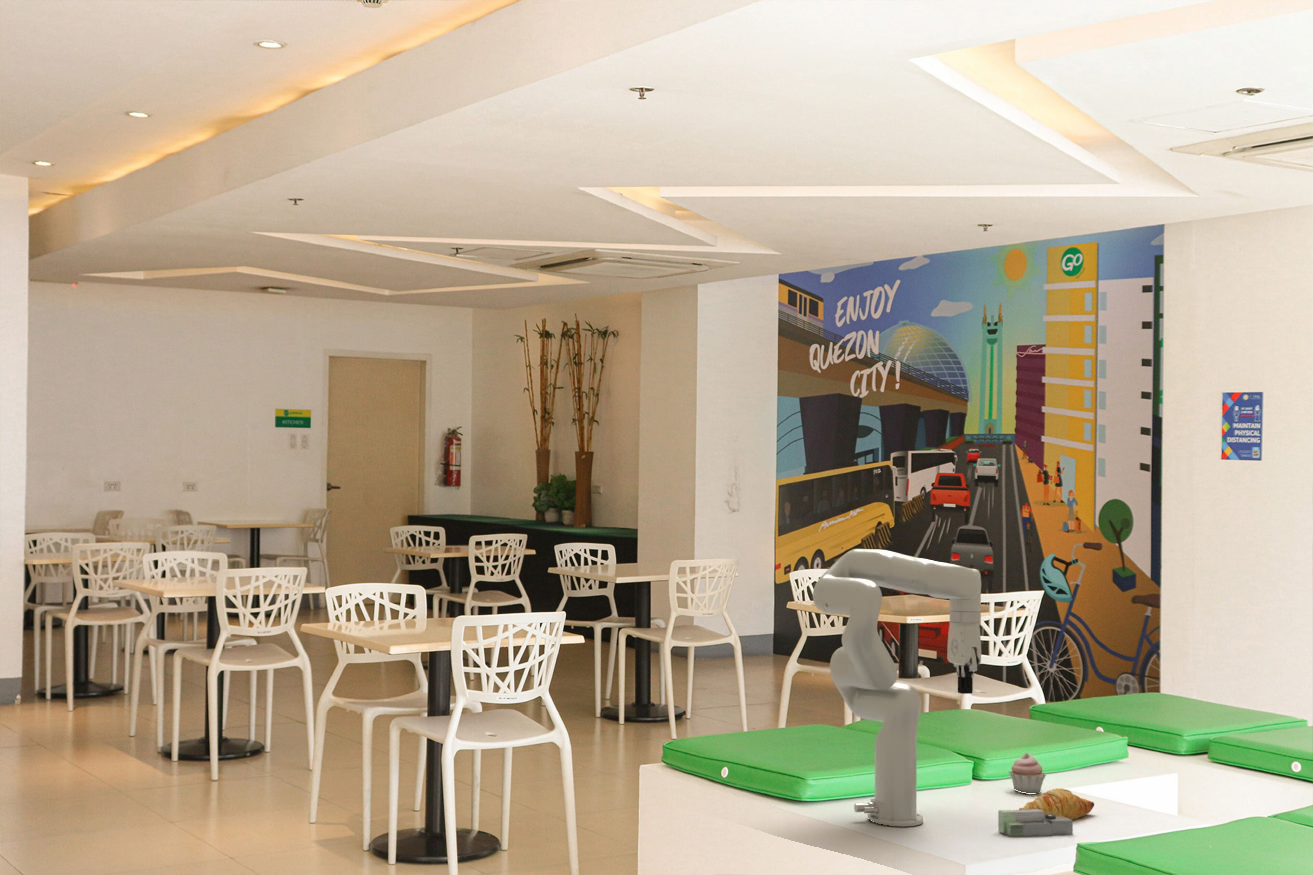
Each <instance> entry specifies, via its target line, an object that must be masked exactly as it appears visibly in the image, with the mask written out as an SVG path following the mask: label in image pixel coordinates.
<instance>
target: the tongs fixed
mask: <svg viewBox="0 0 1313 875" xmlns="http://www.w3.org/2000/svg"><path fill="white" fill-rule="evenodd" d="M1073 823H1074V822H1073V820H1071V819H1068V818H1066V817H1064V816H1056V815H1054V814H1045V817H1044V822H1020V823H1019V822H1006V834H1005V835H1006V836H1008V837H1010V838H1012V837H1013V838H1018V837H1019V838H1020V837H1041V836H1042V837H1044V836H1048V837H1049V836H1055V835H1056V836H1057V835H1059V836H1060V835H1073V830H1074V829H1073V828H1074V824H1073Z"/></svg>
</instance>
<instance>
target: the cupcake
mask: <svg viewBox="0 0 1313 875" xmlns="http://www.w3.org/2000/svg"><path fill="white" fill-rule="evenodd" d="M1008 774H1009V775H1010V778H1011V781H1012V784H1013V785H1012V786H1013V790H1014V789H1016V790H1018V791H1021V792H1026V793H1038V794H1040V793H1041V791H1042V790H1041V789H1042V787H1043V786H1042V785H1043V783H1044V781H1045V779H1046V776H1047V774H1045V772H1043V766H1042V765H1041V764H1040V763H1039V762H1038V760H1037V759H1036V758H1035V756H1033V755H1031V754H1029V753H1028V752H1026V753H1025V754H1023V755H1022V757H1021V758H1017V759H1015V761H1014V763H1013V764H1012V766H1011V771H1008ZM1039 792H1040V793H1039Z"/></svg>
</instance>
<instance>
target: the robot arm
mask: <svg viewBox="0 0 1313 875" xmlns="http://www.w3.org/2000/svg"><path fill="white" fill-rule="evenodd" d="M981 578H982V576H981V572H980V570H978V569H976V568H969V567H966V566H963V565H956V564H954V563H953V564H952V563H947V562H941V561H935V560H931V559H927V558H921V557H915V556H912V555H906V554H903V553H899V552H895V551H890V550H886V549H878V548H877V549H875V548H874V549H872V548H871V549H868V548H853V549H851V550H849V551H847V552H846V553H845V554H843V555H841V556H840V558H838V559H837V560H836V561H835V562H834V563H833V564H832V565H831V566H830V567H829V568H828V570H826V571H825V572H824V573H823V574H822V575H821V576H820V578H818V580H817V582H815V585H814V587H813V592H812V600H813V603H814V606H815V607H816V608H817V609H818V610H819V611H821V612H822V613H825V614H829V615H830V614H831V615H842V616H849V617H848V619H847V622H846V625H845V627H844V630H843V631H842V635H841V644H842V646H841V647H839V648H837V649H836V650H835V651H834V652H833V653H832V655H831V658H830V662H829V671H830V676H831V679H832V681H833V683H834V685H835V687H836V689H837V690H838V692H839V694H840V695H841V697H842V698H843V700H844V702H845V704H846V705H847V707H848V708H849V710H850V711H851V712H852V713H853V714H854V715H855V716H856V717H858V718H860V719H863V720H868V721H876V722H881V723H883V724H882V726H881V728H880V729H879V732H878V733H877V734H876V737H875V741H874V798H870V801H868V802H867V803H855V804H853V805H854V806H853V810H854V812H855V813H863V814H867V819H868V818H869V819H870V820H872V821H874V822H877V823H878V824H877V823H876V824H877V825H881V824H883V825H882V826H887V825H889V827H902V828H903V827H904V828H905V827H914V826H919V825H921V824H923V823H924V817H923V815H921V814H919V813H917V788H918V787H917V782H918V781H917V779H918V778H917V776H918V775H917V772H918V771H917V763H918V762H917V760H918V757H917V747H918V744H917V743H918V740H917V739H918V738H917V737H918V727H919V721H920V715H921V712H922V698H921V694H920V692H918V690H917V689H916V688H915V687H913V686H912V685H910V684H907V683H905V682H899V681H897V679H898V670H897V667H896V664H895V662H894V660H893V658H892V657H891V655H890V652H889V651H888V649H887V648H886V646H885V644H884V642H883V641H882V639H881V637H880V635H879V632H878V623H879V622H878V621H879V617H880V612H881V609H882V604H883V595H882V594H883V593H882V589H881V588H880V587H882V588H886V589H891V590H896V591H900V592H903V593H909V594H919V595H928V596H930V597H932V598H936V599H943V600H944V599H945V600H948V599H949V626H948V636H947V648H946V651H947V652H946V653H947V655H946V656H947V657H946V658H947V659H946V660H947V661H948V662H949V663H951V664H953V667H955V668H956V676H957V693H958V694H962V695H965V694H969V695H971V694H973V690H974V689H973V688H974V687H973V685H974V684H973V683H974V682H973V677H974V673H975V672H977V671H978V666H979V665H981V663H982V640H981V628H980V626H981V625H982V624H981V623H982V621H981V620H982V619H981V618H982V616H981V615H982V614H981V613H982V611H981V610H982V606H981V605H982V604H981V602H982V599H981V596H982V595H981V594H982V592H981V590H982V579H981ZM869 819H868V820H869ZM874 822H873V823H874Z"/></svg>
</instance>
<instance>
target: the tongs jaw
mask: <svg viewBox="0 0 1313 875" xmlns="http://www.w3.org/2000/svg"><path fill="white" fill-rule="evenodd" d="M997 817H998V818H997V821H998V822H997V823H998V825H997V826H998V827H997V828H998V832H999V833H1001V834H1005V835H1006V822H1019V823H1020V822H1044V811H1042V810H1040V809H1029V810H1019V809H998V816H997Z"/></svg>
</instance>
